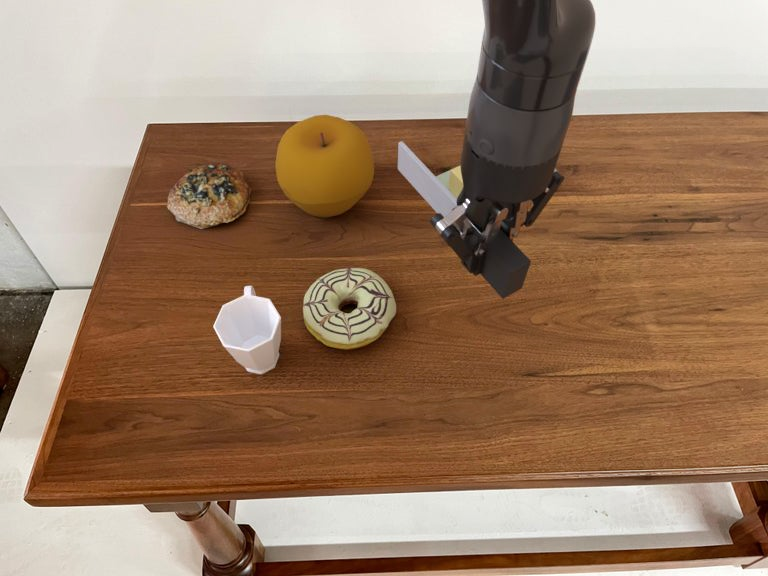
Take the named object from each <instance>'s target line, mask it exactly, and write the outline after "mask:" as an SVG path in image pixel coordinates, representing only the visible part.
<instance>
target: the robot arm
mask: <svg viewBox="0 0 768 576" xmlns="http://www.w3.org/2000/svg"><path fill="white" fill-rule="evenodd" d="M481 3H482V10H483V18H484V20H483V21H484V28H483V32H482V39H481V40H482V41H481V45H480V51H479V52H480V53H479V59H478V66H477V73H476V77H475V81H474V84H473V85H472V90H471V93H470V98H469V102H468V110H467V116H466V123H465V129H464V136H463V144H462V150H461V156H460V157H461V158H460V165H459V166H461V174H462V179H463V189H462V191H461V193H460V194H459V196H458V198H457V207H456V208H455V209H454V210H453V211H451V212H450V213H449V214H448V215H446V216H445V217H443V215H442V214H441V213H437V212H436V213H435V214H434V215H433V216H432V217H431V218H430V220H429V224H430V225H431V226H432V227H433V228H434V230H435V231H436V232H437V233H438V234H439V237H441V238H442V239H443V241H444V242H445V243H446V244H447V245H448V247H449V248H451V249H452V251H453V252H454V253H455V254H456V256H457V257H458V258H459V259H460V263H461V264H462V265H463V267H464V268H465V269H466V270H467V271H468V273H469V274H472V275H473V276H475V277H478V276H479V275H481V273H482V270H483V266H484V261H485V257H486V253H487V252H486V250H487V248H488V245H489V242H490V241H491V240H493V239H495V238H496V236H497V233H498V231H499V228H500V229H501V230H502V231H503V232H504V233H505V234H506V235H507V236H508V237H509V239H510V240H511V241H512V242H513V241H514V239H515V238H517V237H518V235H519V234H520V232H521V228H522V227H523V226H524V227H526V228H529V227H530V226H531V227H532V225H533V224H534V223H535V222H536V220H537V219H538V217H539V216H540V215H541V213H542V212H543V210H544V209H545V207H546V206H547V205H548V203H549V202H550V200H551V199H552V197H553V196H554V195H555V193H556V192H557V190H558V189H559V187H560V186H561V185H562V184H563V182H564V180H565V176H564V175H563V174H562V173H560V172H559V171H558V170H557V169H556V167H557V163H558V160H559V158H560V154H561V151H562V148H563V146H564V141H565V139H566V136H567V133H568V130H569V127H570V125H571V124H570V123H571V120H572V117H573V112H574V108H575V100H576V95H577V91H578V87H579V85H580V81H581V78H582V76H583V73H584V68H585V66H586V63H587V60H588V56H589V53H590V50H591V46H592V43H593V39H594V34H595V32H596V31H595V30H596V25H597V24H596V11H595V8H594V5H593V3H592V0H481ZM531 204H532V207H531V208H530V210H529V206H531ZM463 222H464V225H465V226H464V229H463V230H462V228H463ZM513 243H514V242H513Z"/></svg>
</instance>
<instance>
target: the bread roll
mask: <svg viewBox="0 0 768 576" xmlns="http://www.w3.org/2000/svg"><path fill="white" fill-rule="evenodd" d="M251 194H252V188H251V187H250V184H249V182H248V179H247V178H246V176H245V174H243V172H242V171H240V170H238V169H237V168H235V167H233V166H231V165H229V164H226V163H221V162H214V163H208V164H202V165H199V166H196V167H193V168H192V169H189V170H188V171H186V173H185V174H184V175H182V177H180V179H179V180H177V182H176V183H175V184H174V185H173V187H172V188H170V191H169V193H168V197H167V204H166V208H167V210H168V211H170V213H172V215H173V216H174V218H175V221H176V222H181V223H182V224H185V225H188V226H192V227H193V228H197V229H200V230H203V229H207V228H211V227H216V226H218V225H220V224H224V223H226V224H228V223H230V222H233V221H235V220H236V219H238V218H240V217H241V216H242V215H243V214H244V213H245V212H246V211H247V207H248V205H249V203H250V201H251V198H250V196H251Z"/></svg>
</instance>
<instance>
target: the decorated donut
mask: <svg viewBox="0 0 768 576" xmlns="http://www.w3.org/2000/svg"><path fill="white" fill-rule="evenodd" d="M302 304H303V305H302V313H303V321H304V325H305V327H306V329H307V330H308V332H309V333H310V334H311V335H312V336H313V337H314V338H316V340H317V341H319V342H320V343H322V344H324V345H325V346H327V347H330V348H334V349H338V350H355V349H358V348H362V347H366V346H368V345H369V344H371V343H373V342H375V341H376V340H377V339H379V338H380V337H381V336H382V335H383V334H384V333H385V331H386V330H387V328H388V327H389V324H390V323H391V321H392V320H393V318H394V317H395V316H396V314H397V303H396V300H395V297H394V294H393V291H392V289H391V288H390V286H389V285H388V284H387V281H385V280H384V279H383V278H382V277H381V276H380V275H378V274H377V273H376V272H375V271H372V270H371V269H368V268H362V267H348V268H339V269H335V270H332V271H330V272H328V273H326V274H324V275H322V276H320V277H318V278H317V279H316V280H315V281H314V282H313V283H312V284H311V285H310V286H309V288H308V290H307V291H306V292H305V294H304V296H303V303H302ZM349 304H354V305H356V306H357V307H356V308H355V309H354V310H352V311H351V312H349V313H347V312H344V311H341V310H342V308H343V307H345V306H346V305H349Z"/></svg>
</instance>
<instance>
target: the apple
mask: <svg viewBox="0 0 768 576" xmlns="http://www.w3.org/2000/svg"><path fill="white" fill-rule="evenodd" d="M374 161H375V160H374V155H373V150H372V146H371V145H370V142H369V140H368V138H367V136H366V134H365V133H364V132H363V131H362V129H360V128H359V127H358V126H357V125H356V124H354V123H352V122H350V121H349V120H346V119H343V118H341V117H338V116H334V115H329V114H319V115H317V114H316V115H314V116H311V117H308V118H305V119H303V120H299V121H298V122H296V123H295V124H293V125H292V126H290V127H289V128H288V129H287V130H286V131H285V132H284V134H283V135H282V136H281V139H280V140H279V142H278V145H277V149H276V157H275V163H274V165H275V166H274V167H275V175H276V180H277V182H278V185H279V187H280V189H281V190H282V192H283V193H284V195H285V196H286V198H287V199H288V200H290V202H292V203H293V204H294V205H295V206H296V207H298V208H299V209H301V210H302V211H303V212H305V213H307V214H308V215H310V216H314V217H319V218H325V219H327V218H331V217H337V216H340V215H342V214H343V213H345V212H347V211H348V210H350V209H352V208H353V207H354V205H356V204H357V203H358V201H360V200H361V199H362V198H363V197H364V195H365V194H366V193H367V192H368V190H369V189H370V188H371V186H372V182H373V179H374V175H375V162H374Z"/></svg>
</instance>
